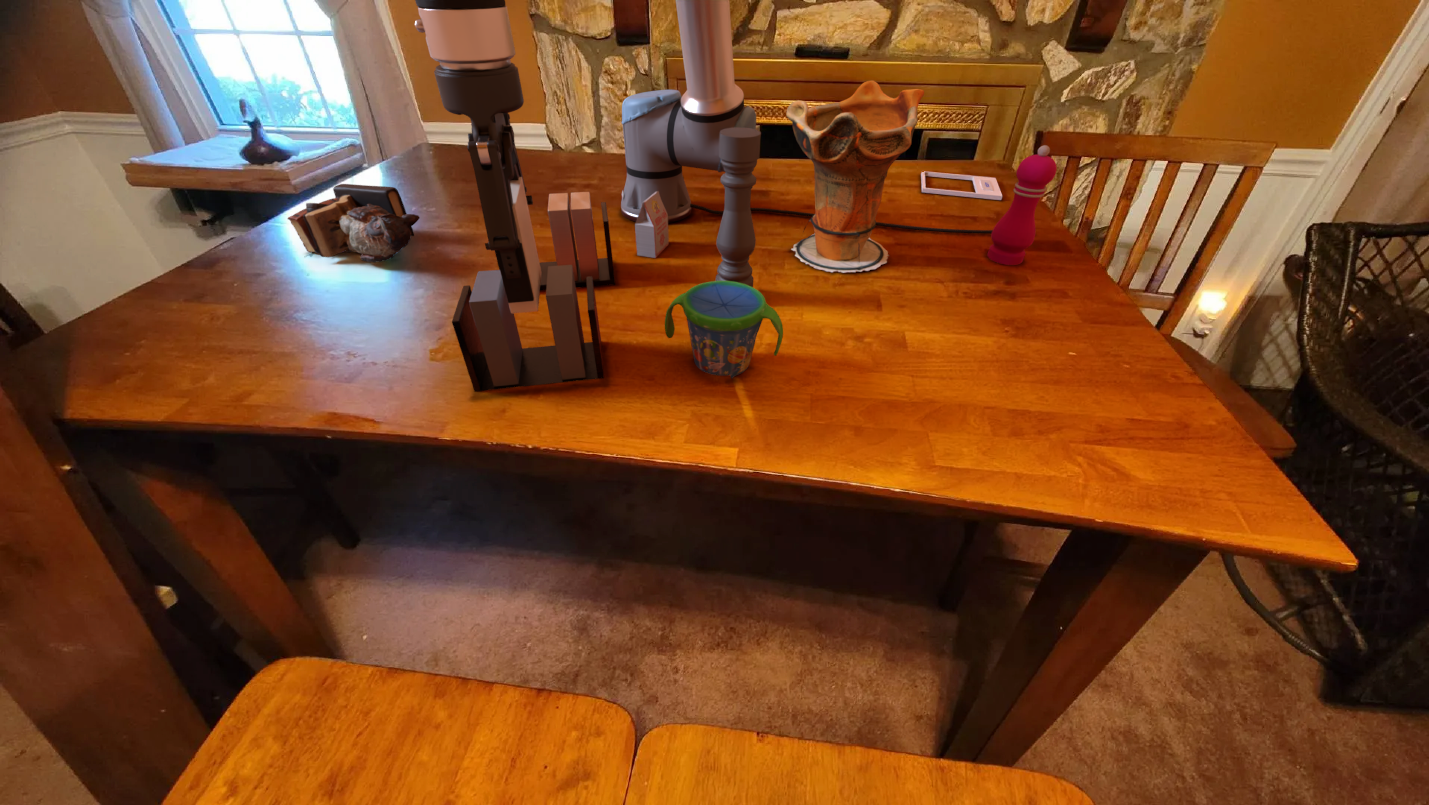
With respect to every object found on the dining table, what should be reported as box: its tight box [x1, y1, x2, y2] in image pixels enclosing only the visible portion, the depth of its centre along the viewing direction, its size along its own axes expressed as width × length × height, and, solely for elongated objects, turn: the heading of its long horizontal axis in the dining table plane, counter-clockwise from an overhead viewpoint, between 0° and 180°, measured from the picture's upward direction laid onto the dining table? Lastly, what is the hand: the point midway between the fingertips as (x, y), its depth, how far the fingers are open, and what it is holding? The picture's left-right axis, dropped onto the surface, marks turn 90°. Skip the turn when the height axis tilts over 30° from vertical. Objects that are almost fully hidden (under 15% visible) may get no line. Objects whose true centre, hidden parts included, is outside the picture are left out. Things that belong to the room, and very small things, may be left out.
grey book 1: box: [469, 269, 523, 387], centre depth 69 cm, size 3×8×12 cm, turn 11°
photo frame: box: [920, 170, 1003, 201], centre depth 137 cm, size 15×1×18 cm
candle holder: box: [715, 127, 762, 288], centre depth 83 cm, size 6×6×25 cm
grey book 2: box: [545, 265, 586, 380], centre depth 71 cm, size 3×8×12 cm, turn 11°
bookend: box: [287, 183, 421, 263], centre depth 100 cm, size 15×11×25 cm
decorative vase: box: [785, 80, 925, 274], centre depth 96 cm, size 21×23×28 cm
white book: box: [500, 177, 542, 314], centre depth 63 cm, size 3×10×12 cm, turn 12°
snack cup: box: [664, 280, 784, 380], centre depth 73 cm, size 16×10×10 cm
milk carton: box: [634, 191, 670, 259], centre depth 102 cm, size 4×7×10 cm, turn 162°
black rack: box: [494, 191, 616, 292], centre depth 92 cm, size 18×9×13 cm, turn 101°
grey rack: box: [451, 276, 605, 393], centre depth 71 cm, size 16×9×11 cm, turn 101°
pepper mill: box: [986, 144, 1058, 266], centre depth 98 cm, size 7×7×20 cm
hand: (524, 278), depth 66 cm, fingers closed on white book, 10 cm apart
